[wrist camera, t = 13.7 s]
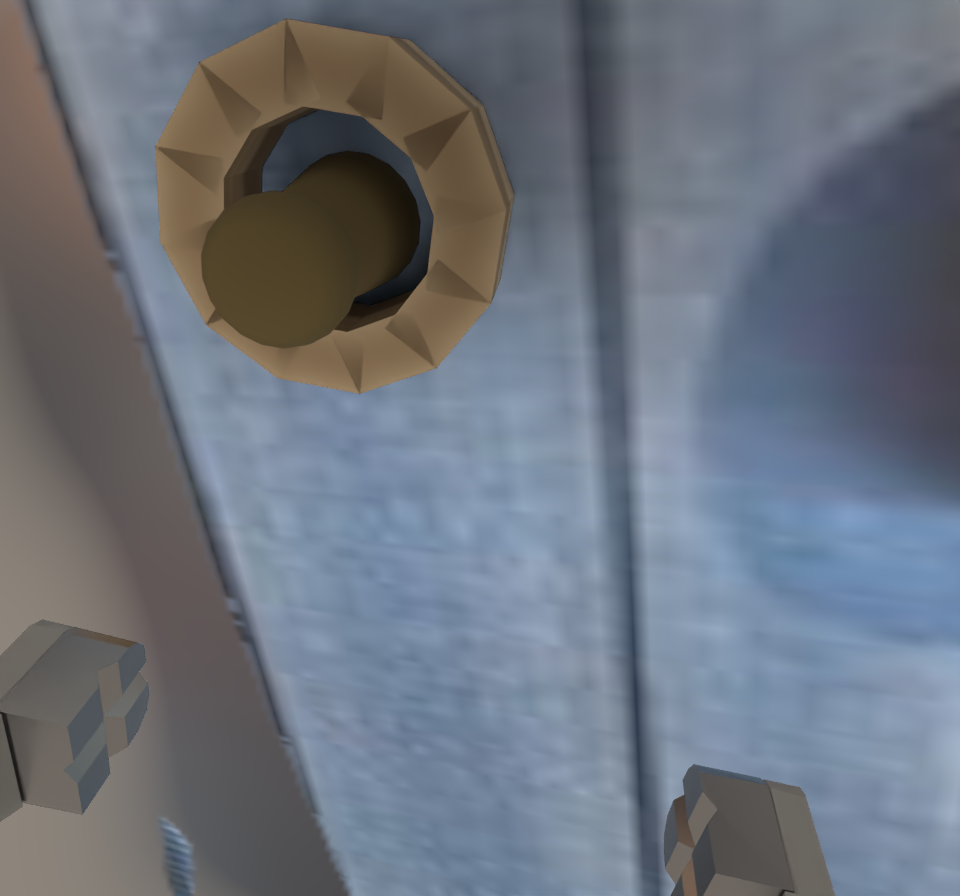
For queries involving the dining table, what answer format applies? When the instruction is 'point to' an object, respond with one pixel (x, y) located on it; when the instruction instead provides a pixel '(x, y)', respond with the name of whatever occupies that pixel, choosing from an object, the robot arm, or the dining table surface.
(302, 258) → the dark brown rounded piece
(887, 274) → the dining table surface
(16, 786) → the robot arm
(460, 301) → the tan faceted ring
